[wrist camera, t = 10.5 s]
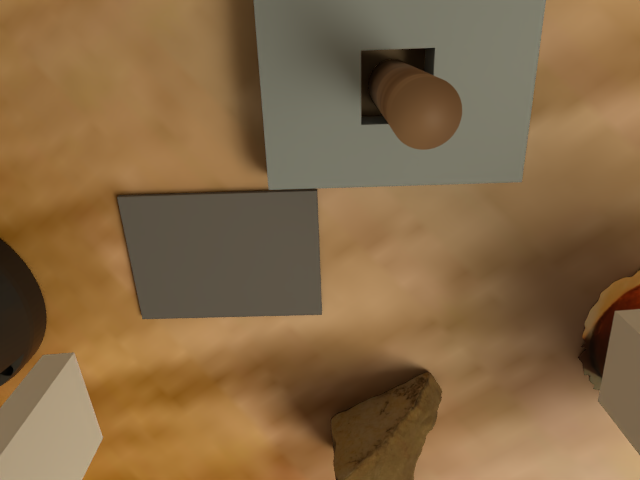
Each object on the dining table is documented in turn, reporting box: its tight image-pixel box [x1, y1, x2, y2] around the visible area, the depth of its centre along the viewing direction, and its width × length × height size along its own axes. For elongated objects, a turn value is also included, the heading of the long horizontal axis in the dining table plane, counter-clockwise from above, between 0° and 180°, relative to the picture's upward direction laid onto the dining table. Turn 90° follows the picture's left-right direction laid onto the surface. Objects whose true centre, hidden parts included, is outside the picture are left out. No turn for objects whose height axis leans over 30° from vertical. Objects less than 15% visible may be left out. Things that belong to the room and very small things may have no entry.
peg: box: [368, 59, 462, 150], centre depth 26 cm, size 3×3×12 cm
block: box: [254, 0, 546, 190], centre depth 30 cm, size 16×12×3 cm
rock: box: [331, 372, 442, 480], centre depth 40 cm, size 11×9×10 cm
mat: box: [117, 189, 322, 319], centre depth 36 cm, size 14×10×1 cm
